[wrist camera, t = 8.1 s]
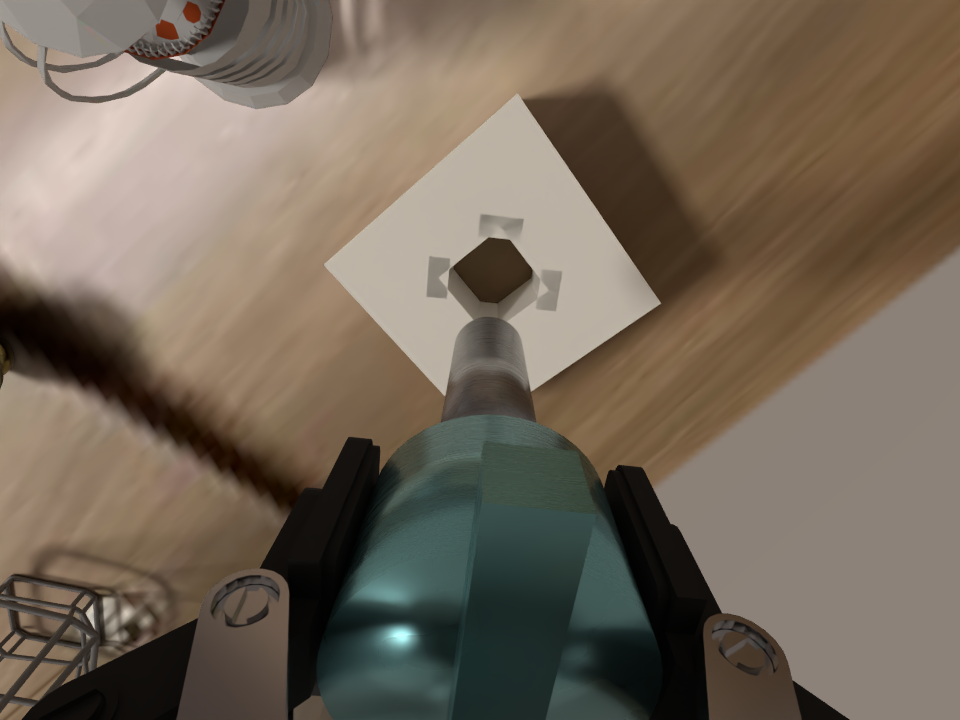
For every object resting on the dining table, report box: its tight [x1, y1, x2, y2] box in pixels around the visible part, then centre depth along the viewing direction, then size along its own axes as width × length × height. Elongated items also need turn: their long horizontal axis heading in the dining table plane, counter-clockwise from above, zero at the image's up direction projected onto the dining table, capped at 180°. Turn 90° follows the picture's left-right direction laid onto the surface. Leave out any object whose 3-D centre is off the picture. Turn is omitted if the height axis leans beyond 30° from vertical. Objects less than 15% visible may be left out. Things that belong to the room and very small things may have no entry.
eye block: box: [324, 93, 661, 396], centre depth 31 cm, size 14×14×5 cm
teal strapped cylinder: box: [316, 317, 663, 720], centre depth 14 cm, size 9×6×16 cm, turn 174°
